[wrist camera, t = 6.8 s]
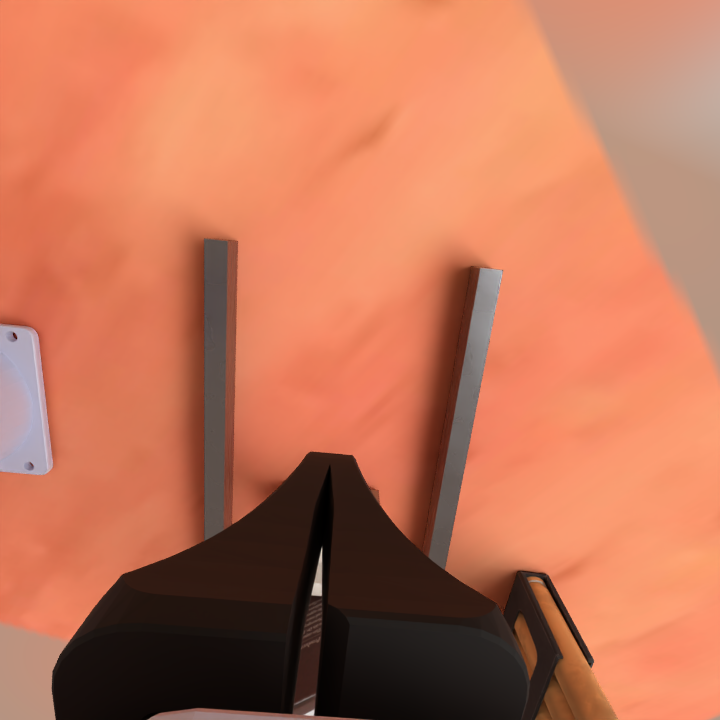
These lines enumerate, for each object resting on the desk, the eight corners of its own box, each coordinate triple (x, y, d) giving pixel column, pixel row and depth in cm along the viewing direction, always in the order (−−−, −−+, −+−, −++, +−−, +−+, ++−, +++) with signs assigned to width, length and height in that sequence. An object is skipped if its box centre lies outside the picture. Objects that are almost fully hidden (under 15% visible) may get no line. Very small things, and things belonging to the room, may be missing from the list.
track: (213, 638, 25) (204, 662, 24) (216, 238, 19) (204, 238, 17) (419, 654, 26) (423, 678, 24) (492, 268, 19) (503, 270, 18)
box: (306, 668, 26) (286, 828, 19) (249, 603, 24) (205, 750, 17) (389, 627, 25) (400, 779, 18) (335, 558, 23) (324, 693, 16)
